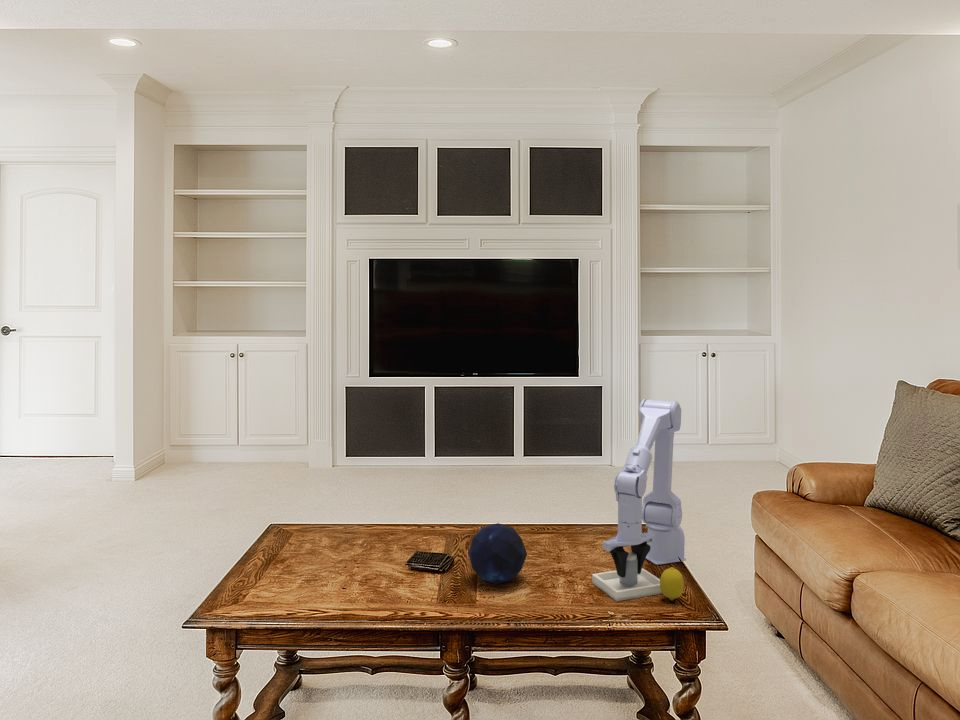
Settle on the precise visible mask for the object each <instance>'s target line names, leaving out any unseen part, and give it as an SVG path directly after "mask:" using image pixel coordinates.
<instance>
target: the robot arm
mask: <svg viewBox="0 0 960 720" xmlns="http://www.w3.org/2000/svg"><path fill="white" fill-rule="evenodd" d="M638 418H639V422H640V425H641V426H640V428H639V430H640V431H639V434H638V438H637V441H636V446H633V447H631V448H629V452H628V455H627V457H626V459H625V463H624V466H623V468H622V470H620V472H617V473H616V475H615V479H614V485H613V488H614V489H613V490H614V493H615V500H616V502H617V533H616V536H614V537H612V538H610V539H607V540H604V541H602V546H603V547H602V549H603V550H604V551H606V552H609V553H610V555H611V558H612V560H613V563H614V567H615V571H616V570H617V575H618V576H620V577H622V578H623V577H625V572H626V561H627V557H628V554H629V553H628V552H629V551H626V550H625V547H626V548H627V547H630V550H631V552H634V553H636V554H637V558H638V574H640V573H641V570H642V568H643V566H644V562H645V560H648V561H649V562H651V563H652V564H654V565H656V566H658V565H660V566H661V565H666V564H672V563H678V562H686V560H687V559H686V557H685V545H686V544H685V543H686V542H685V533H684V530H683V528H682V527H681V526H680V525H681V524H682V520H683V510H682V499H680V497H679V496H677V495H676V494H675V493H674V492H672V481H673V480H672V478H673V459H674V457H673V456H674V454H673V453H674V437H675V432H679V431H681V427H682V426H681V425H682V408H681V405H680V403H679V402H678V401H677V400H676V401H675V400H674V401H670V400H668V401H667V400H656V399H655V400H654V399H647V398H644V399H642V401H641V402H640V404H639V406H638ZM653 445H654V455H653V454H652V453H651V449H652V447H653ZM653 457H654V458H653ZM652 459H654V460H653V479H652V481H653V482H652V491H650V492H648V493H647V494H645V493H646V490H647V483H648V482H647V481H648V475H647V473H648V471H649V468H650V465H651V462H652ZM643 523H644V524H645V527H646V528H647V532H643V531H642V528H643V527H642V524H643ZM678 557H679V558H680V559H681V561H680V560H679V558H678Z"/></svg>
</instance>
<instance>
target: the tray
mask: <svg viewBox="0 0 960 720" xmlns="http://www.w3.org/2000/svg"><path fill="white" fill-rule="evenodd" d="M591 583H592V584H593V585H594V586H595V587H597V588H599V590H601V592H604V593H605V594H606V595H608V596H609V597H610V598H611V599H613V600H614V601H615V602H620V601H627V600H632V599H639V598H645V597H651V596H657V595H661V594H663V593H662V591H661V589H660V578H658V577H657V576H656V575H653V573H651V572H649V571H648V570H646V569H645V568H643V567H642V570H641V573H640V574H638V583H637V584H636V585H623V584H621V583H620V582H619V576H618V575H617V570H616V569H615V570H610V571H604V572H599V573H592V574H591ZM663 595H664V594H663Z"/></svg>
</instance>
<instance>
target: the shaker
mask: <svg viewBox="0 0 960 720" xmlns="http://www.w3.org/2000/svg"><path fill="white" fill-rule="evenodd" d="M627 552H628V553H629V554H628V557H627V561H626V572H625V577H623V578H622V577H620V576H619V582H620V583H621V584H623V585H636V584H637V583H638V558H637V554H636V553H634V552H632V551H627Z"/></svg>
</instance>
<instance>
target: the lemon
mask: <svg viewBox="0 0 960 720" xmlns="http://www.w3.org/2000/svg"><path fill="white" fill-rule="evenodd" d="M659 579H660V589H661V591H662V593H663V596H665V597H666V598H668V599H669V601H674V600H675V599H677V598H680V596H682V595H683V592H684V588H685V581H684V576H683V575H682V573H681V572H680V571H679V570H678V569H676V568H675V567H674V566H671V567H670V568H666V569H664V571H663V572H662V573H661V576H660V578H659Z"/></svg>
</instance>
